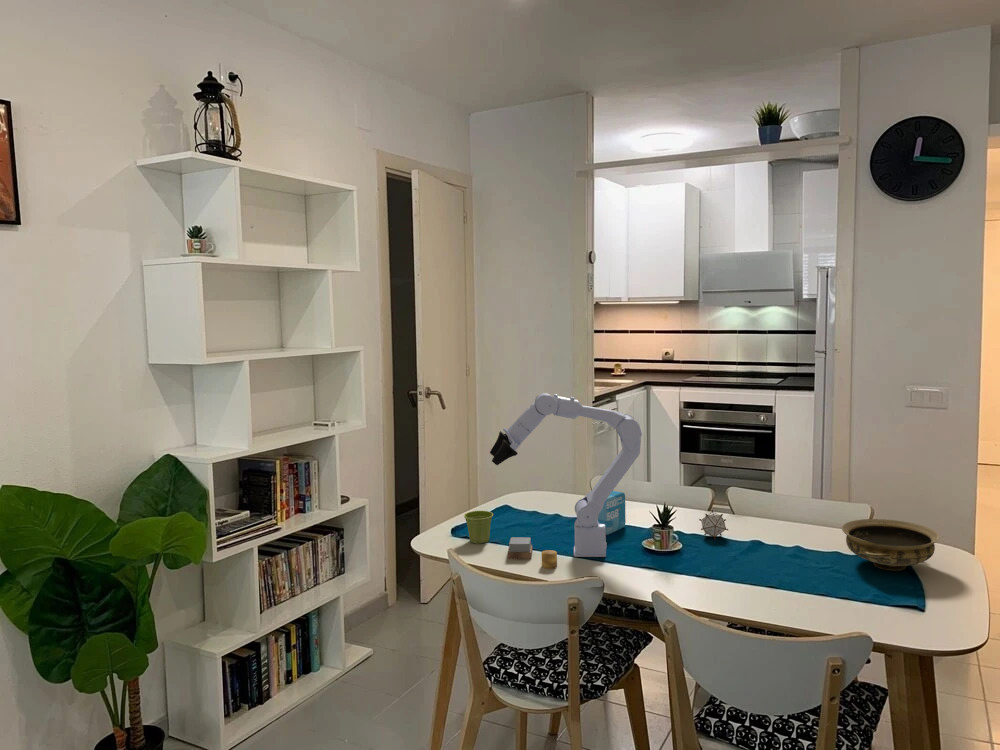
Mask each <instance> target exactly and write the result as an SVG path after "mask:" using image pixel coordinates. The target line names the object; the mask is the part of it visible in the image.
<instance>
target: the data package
mask: <svg viewBox="0 0 1000 750" xmlns="http://www.w3.org/2000/svg"><path fill="white" fill-rule="evenodd" d="M598 522H599V524H605V533H606V536H608V535H610V534H613V533H614V532H617V531H619V530H621V529H623V528H624V527H625V526H626V494H625V492H622V491H616V490H613V491H612V492H611V494H610V495H609V496H608V498H607V499H606V500H605V502H604V505H603V508H602V510H601V512H600V513H599V516H598Z"/></svg>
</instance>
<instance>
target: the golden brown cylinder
mask: <svg viewBox="0 0 1000 750" xmlns="http://www.w3.org/2000/svg"><path fill="white" fill-rule="evenodd" d="M557 567H558V552H557V551H556V550H552V549H551V550H550V549H548V550H547V549H545V550H543V551H541V568H543V569H548V570H553V569H556V568H557Z"/></svg>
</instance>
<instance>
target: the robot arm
mask: <svg viewBox="0 0 1000 750" xmlns="http://www.w3.org/2000/svg"><path fill="white" fill-rule="evenodd" d="M550 415H553V416H556V417H563V418H567V419H572V420H576V419H577V418H578V417H583V418H589V419H593V420H597V421H601V422H605V423H607V424H608V425H609V427H611V428H613V429H614V430H615V431H616V432H617V434H618V437H619V438H620V439H619V440H620V444H621V450H620V451H619V453H618V454H617V455H616V457H615V458H613V460H612V462H611V463H610V464H609V466H608V467H607V469H606V470H605V472H604V473H603V475H601V477H600V479H599V480H598V481H597V483H595V485H594V486H593V488H592V490H590V491H588V492H587V493H586V494H585V496H584V497H583V498H580V499H578V501H577V502H576V503H575V505H574V512H575V514H576V515H575V516H576V520H575V521H574V546H573V557H576V558H578V557H579V558H581V557H583V558H585V557H586V558H587V557H588V558H592V557H593V558H599V557H600V558H605V557H607V548H608V546H607V544H608V543H607V542H606V541H607V539H606V538H607V535H606V533H605V524H599V522H598V516H599V513H600V512H601V510H602V508H603V505H604V502H605V500H606V499H607V498H608V496H609V495H610V494H611V492H612V491H615V488H616V487H617V486H618V484H619V483H620V481H621V480H622V479H623V477H624V476H625V475H626V473H627V472H628V470H629V469H630V468H631V467H632V465H633V464H634V462H635V461H636V460H637V458H638V457H639V456H640V454H641V445H642V444H641V442H642V436H643V433H642V429H641V427H640V424H639V422H638V421H636V420H635V418H634V417H633V416H632V415H630V414H628V413H623V412H620V411H618V410H613V409H610V408H609V409H607V408H600V407H597V406H596V407H594V406H589V405H582V404H581V402H580V401H579V400H578V399H576V397H574V396H569V397H564V396H559V395H558V393H557V394H556V393H554V394H553V395H551V394H550V393H547V392H542V393H540V394H538V395H536V396H535V399H534V402H533V403H532V404H530V405H529V407H527V408H526V410H524V412H522V414H520V416H519V417H517V419H516V420H515V421H514V422H513V423H512V424H511V425H510V426H509V427H508V429H507V428H506V427H503V428H502V431H503V432H502V431H500V430H499V433H498V436H497V438H496V441H495V442H494V445H493V446H492V447H491V449H490V452H489V454H490V455H491V456H492V459H491V462H492V463H494V464H495V466H499V465H500V464H502V463H503V462H505V461H506V460H508V459H509V458H512V457H515V456H517V455H518V452H517V450H518V448H520V446H521V445H522V443H523V442H524V441H525V440H526V439H527V438H528V437H529V436H530V434H531V433H533V431H534V430H535V429H536V428H537V427H538V426H539V425H540V424H541V423H542V421H543V420H544V418H546V417H547V416H550Z"/></svg>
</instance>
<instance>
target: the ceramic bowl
mask: <svg viewBox="0 0 1000 750" xmlns="http://www.w3.org/2000/svg"><path fill="white" fill-rule="evenodd" d="M841 531H842V532H843V533H844V534H845V535H846V536H845V543H846V546H847V547H848V549H849V550H850V552H852V553H853V554H854V555H856V556H857V557H860V558H862V559H863V560H867V561H869V562H872V563H873V566H874V567H876V568H878V569H881V570H886V571H893V572H894V571H904V570H905V569H906V568H907V566H914V565H918V564H921V563H923V562H926V561H928V560H929V559H930V558H932V556H933V555H934V554H935V552H936V551H935V550H936V549H935V548H936V547H935V546H936V545H935V543H936V542H938V541H939V540H940V534H939V533H938V531H936V530H934V529H933V528H931V527H927V526H925V525H921V524H919V523H918V524H917V523H914V522H907V521H904V520H897V519H886V518H883V519H882V518H880V519H879V518H865V519H854V520H851V521H848V522H845V523H844V524H843V525H841Z"/></svg>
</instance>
